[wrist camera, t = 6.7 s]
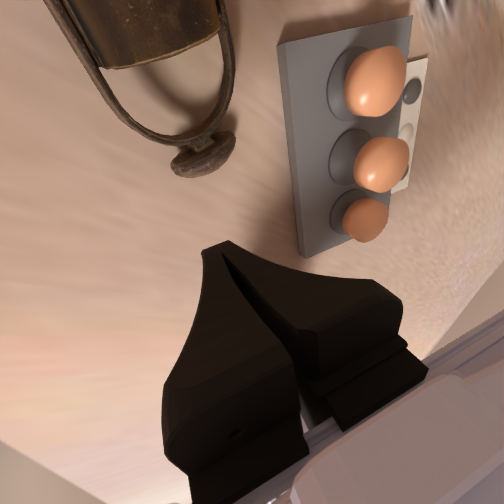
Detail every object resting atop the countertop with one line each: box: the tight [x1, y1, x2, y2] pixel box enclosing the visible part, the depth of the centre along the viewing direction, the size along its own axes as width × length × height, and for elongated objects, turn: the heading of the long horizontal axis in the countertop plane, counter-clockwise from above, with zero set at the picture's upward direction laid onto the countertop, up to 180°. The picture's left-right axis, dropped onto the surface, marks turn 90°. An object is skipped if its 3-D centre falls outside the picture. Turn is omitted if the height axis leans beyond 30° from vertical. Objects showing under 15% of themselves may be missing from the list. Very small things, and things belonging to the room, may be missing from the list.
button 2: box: [344, 46, 406, 117], centre depth 18 cm, size 4×4×3 cm
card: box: [391, 58, 428, 194], centre depth 25 cm, size 12×3×1 cm, turn 12°
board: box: [277, 15, 413, 259], centre depth 23 cm, size 18×11×2 cm, turn 12°
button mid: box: [353, 136, 410, 193], centre depth 20 cm, size 4×4×3 cm
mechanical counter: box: [43, 0, 236, 178], centre depth 13 cm, size 7×13×10 cm
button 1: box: [342, 197, 389, 243], centre depth 24 cm, size 4×4×3 cm
